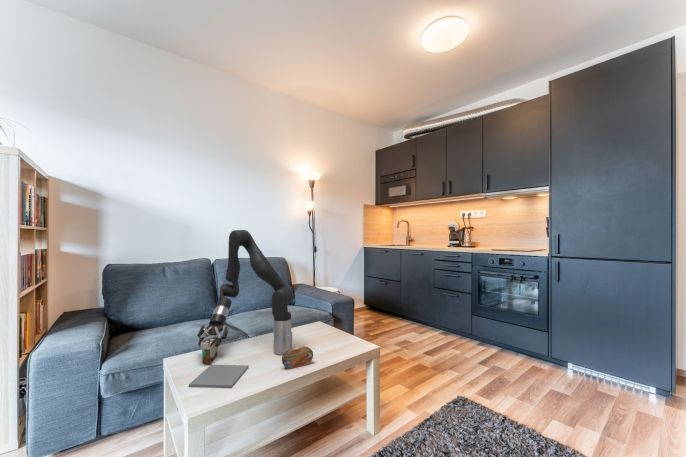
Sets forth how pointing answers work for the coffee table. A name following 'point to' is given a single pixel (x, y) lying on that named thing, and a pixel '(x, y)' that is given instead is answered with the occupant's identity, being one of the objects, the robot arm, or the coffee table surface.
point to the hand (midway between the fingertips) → (208, 346)
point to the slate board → (219, 376)
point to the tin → (297, 357)
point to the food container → (209, 350)
